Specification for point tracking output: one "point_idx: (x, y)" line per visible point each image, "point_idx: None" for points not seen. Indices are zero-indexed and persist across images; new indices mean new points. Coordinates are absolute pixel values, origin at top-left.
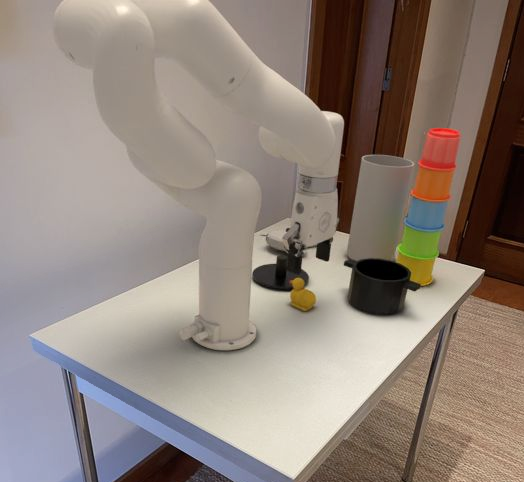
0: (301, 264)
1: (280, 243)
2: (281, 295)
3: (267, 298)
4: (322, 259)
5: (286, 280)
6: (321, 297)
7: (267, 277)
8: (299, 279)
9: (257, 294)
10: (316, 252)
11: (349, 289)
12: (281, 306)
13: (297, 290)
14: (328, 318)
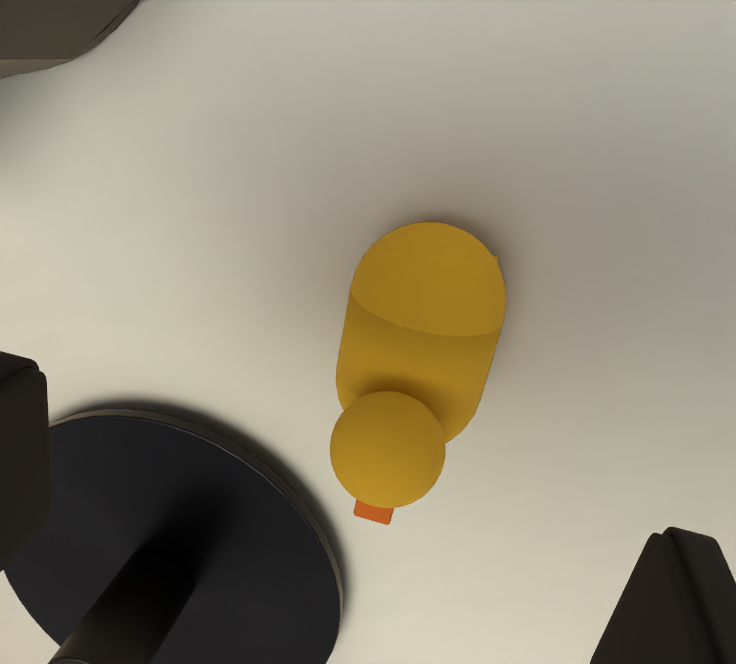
0: (723, 655)
1: None
2: None
3: (466, 538)
4: (42, 430)
5: (201, 527)
6: (205, 244)
7: (249, 629)
8: (390, 470)
9: (452, 601)
10: (3, 563)
11: (35, 39)
12: (522, 427)
13: (441, 413)
14: (500, 34)
